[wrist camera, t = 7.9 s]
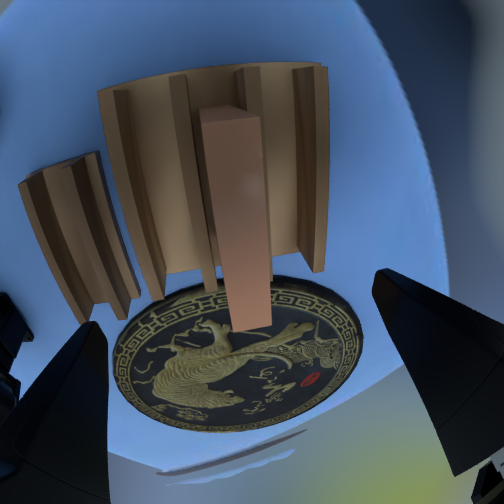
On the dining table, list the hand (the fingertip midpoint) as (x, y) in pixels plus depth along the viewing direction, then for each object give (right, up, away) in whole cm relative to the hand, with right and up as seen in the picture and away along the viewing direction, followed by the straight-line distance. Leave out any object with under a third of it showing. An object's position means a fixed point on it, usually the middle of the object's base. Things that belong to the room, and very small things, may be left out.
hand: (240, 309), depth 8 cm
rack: (-2, +7, +10) cm, 13 cm away
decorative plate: (-1, -13, +24) cm, 27 cm away
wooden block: (-2, +7, +10) cm, 12 cm away
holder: (-12, +3, +11) cm, 17 cm away
